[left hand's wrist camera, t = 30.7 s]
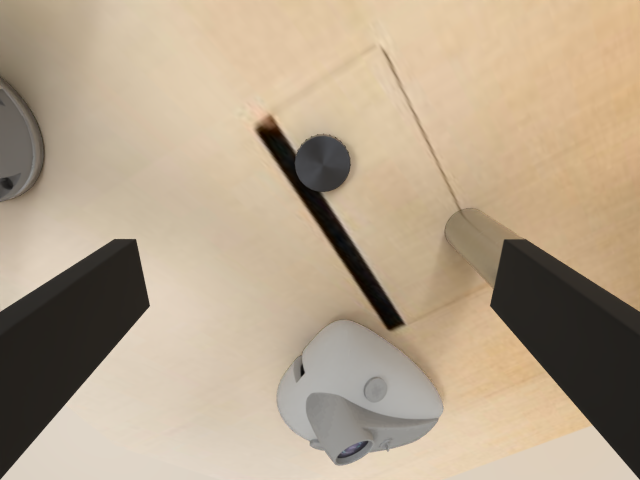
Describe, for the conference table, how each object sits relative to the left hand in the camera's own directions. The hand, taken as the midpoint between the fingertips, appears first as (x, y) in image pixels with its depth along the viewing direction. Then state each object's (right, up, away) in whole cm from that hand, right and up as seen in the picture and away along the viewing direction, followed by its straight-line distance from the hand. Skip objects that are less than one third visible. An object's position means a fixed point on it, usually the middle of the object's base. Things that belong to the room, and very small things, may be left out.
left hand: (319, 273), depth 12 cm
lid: (0, +10, +25) cm, 27 cm away
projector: (+7, -18, +38) cm, 43 cm away
